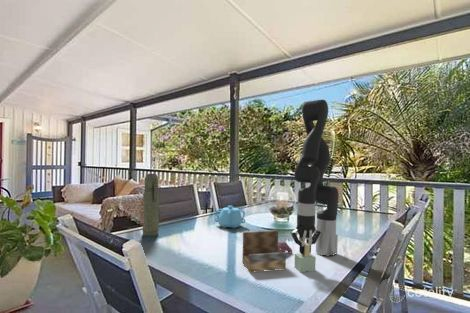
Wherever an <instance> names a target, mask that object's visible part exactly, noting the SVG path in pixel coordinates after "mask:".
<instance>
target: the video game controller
mask: <svg viewBox="0 0 470 313" xmlns="http://www.w3.org/2000/svg"><path fill="white" fill-rule="evenodd" d="M287 251H288V252H287ZM278 252H287V253H289V252H292V253H293V249H292V248H291V247H290V246H289V245H288V243H287V242H285V241H278Z"/></svg>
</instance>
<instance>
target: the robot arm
mask: <svg viewBox="0 0 470 313" xmlns="http://www.w3.org/2000/svg"><path fill="white" fill-rule="evenodd" d="M301 114H302V120H303V124H304V128H305V133H306V137H305V138H304V141H303V143H302V150H301V155H300V159H299V161H298V163H297V165H296V167H295V169H294V174H293V177H294V179H295V181H296V182H298V183H303V184H304V183H305V184H309V186H307V187H301V188H299V189H298V192H297V195H298V196H297V207H296V228H295V229H294V230H293V231H292V230H291V231H290V234H291V237H292V238H293V241H294V243H295V244H296V245H298V246H299V254H300V253H301V254H302V255H304V243H305V242H306V243H308V244H309V245H310V253H311V254H312V246H313V245H315V253H316V252H317V253H318V254H317V253H316V254H317V255H319V254H322V255H333V254H335V253H337V254H338V240H339V237H338V234H337V215H338V211H339V209H338V208H339V195H340V194H339V189H338V188H337V187H336V186H331V185H324V175H325V172H326V170H327V169H328V166H329V165H330V161H331V155H330V147H329V145H328V143H327V141H326V140H325V139H324V138H323V137H322V136H323V133H324V130H325V128H326V124H327V119H328V116H329V105H328V102H327V101H326V99H316V100H308V101H304V102H303V103H302V105H301ZM315 121H316V123H314V122H315ZM316 204H319V205H325V206H326V209H324V210H320V211H319V210H318V211H316ZM316 212H317V213H316ZM315 225H316V226H315ZM322 255H321V256H322Z"/></svg>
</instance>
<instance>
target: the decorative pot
mask: <svg viewBox="0 0 470 313" xmlns="http://www.w3.org/2000/svg"><path fill="white" fill-rule="evenodd" d="M218 211H220V212H219V214H218ZM241 212H242V214H243V215H242V214H241ZM215 215H216V218H214V221H215V222H217V223H218V224H219V226H220V227H222V229H223V228H224V229H226V228H231V229H237V228H238V227H240V226H241V225H242V224H245V223H246V219H245V215H246V212H245V211H244V210H243V209H239V208H237V207H234V206H233V205H227V207H223V208H217V209H216V210H215Z"/></svg>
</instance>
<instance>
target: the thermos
mask: <svg viewBox="0 0 470 313" xmlns="http://www.w3.org/2000/svg"><path fill="white" fill-rule="evenodd" d="M158 177H159V176H158V174H156V173H147V174H146V175H145V178H144V192H143V195H142V199H143V200H142V203H143V204H142V205H143V222H142V236H143V237H148V238H149V237H150V238H151V237H156V236H158V235H159V228H160V227H159V225H160V224H159V204H160V194H159V189H158V188H159V178H158Z"/></svg>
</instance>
